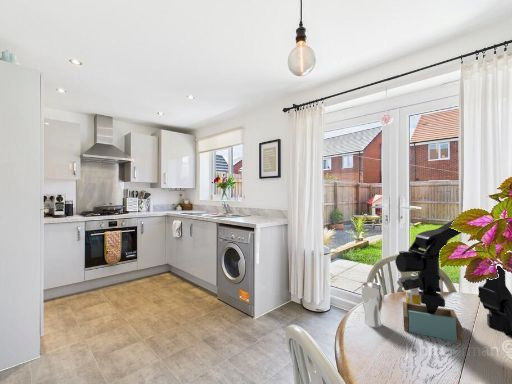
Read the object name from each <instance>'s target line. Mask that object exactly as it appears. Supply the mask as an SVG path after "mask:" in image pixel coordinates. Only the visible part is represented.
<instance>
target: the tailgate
mask: <svg viewBox="0 0 512 384" xmlns="http://www.w3.org/2000/svg"><path fill="white" fill-rule="evenodd" d="M408 332H409V333H413V334H418V335H422V336H423V335H424V336H428V337H431V338H432V337H433V338H436V339H437V338H438V339H442V340H447V341H453V342H458V341H457V338H456V319H455V318H452V317H446V316H440V315H434V314H428V313H422V312H416V311H411V310H409V330H408Z"/></svg>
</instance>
